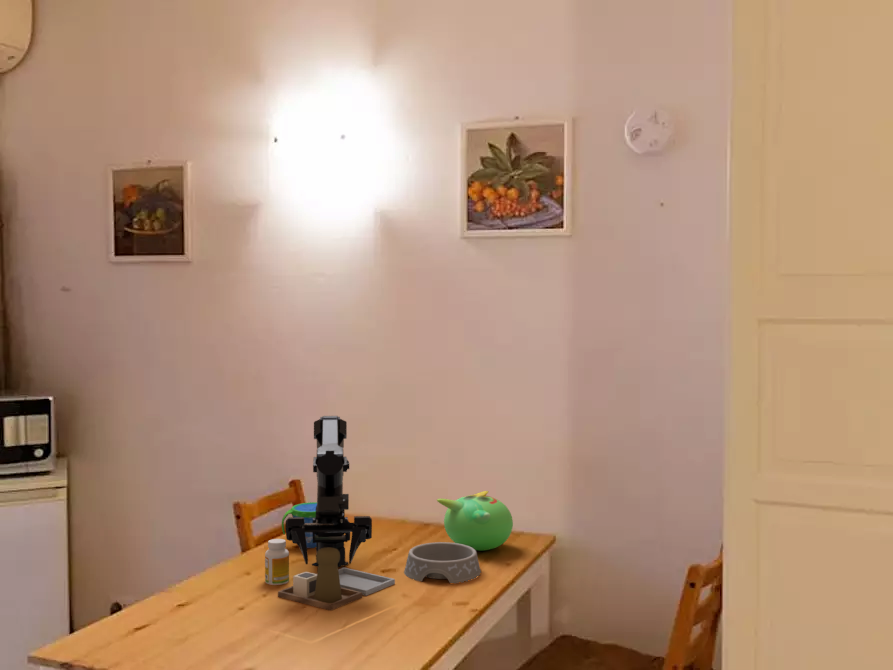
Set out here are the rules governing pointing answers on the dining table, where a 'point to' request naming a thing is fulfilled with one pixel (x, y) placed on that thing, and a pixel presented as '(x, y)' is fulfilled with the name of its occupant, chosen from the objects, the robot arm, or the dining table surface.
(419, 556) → the dog bowl
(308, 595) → the beige and grey cube
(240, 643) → the dining table surface
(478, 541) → the green creature toy
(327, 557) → the brown rounded upright piece
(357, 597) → the walnut tray
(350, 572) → the grey tray
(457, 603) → the dining table surface
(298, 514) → the snack cup
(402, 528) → the dining table surface
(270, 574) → the supplement bottle
